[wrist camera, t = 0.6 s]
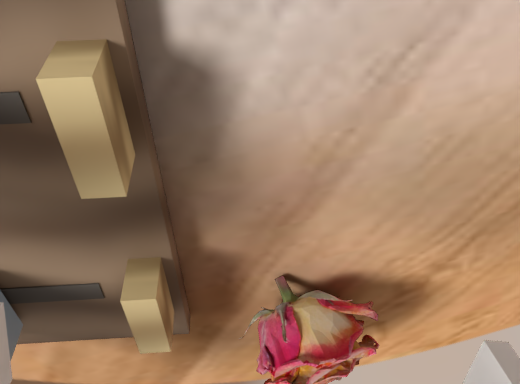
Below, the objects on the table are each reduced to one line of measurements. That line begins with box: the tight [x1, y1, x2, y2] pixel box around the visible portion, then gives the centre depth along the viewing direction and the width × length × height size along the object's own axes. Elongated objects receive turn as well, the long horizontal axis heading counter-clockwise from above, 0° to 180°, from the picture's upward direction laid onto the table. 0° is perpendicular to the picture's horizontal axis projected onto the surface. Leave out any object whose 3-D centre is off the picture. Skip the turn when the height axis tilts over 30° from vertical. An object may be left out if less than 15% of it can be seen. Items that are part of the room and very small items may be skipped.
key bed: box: [0, 0, 190, 354], centre depth 25 cm, size 26×17×4 cm, turn 1°
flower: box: [239, 276, 379, 384], centre depth 32 cm, size 10×9×8 cm
